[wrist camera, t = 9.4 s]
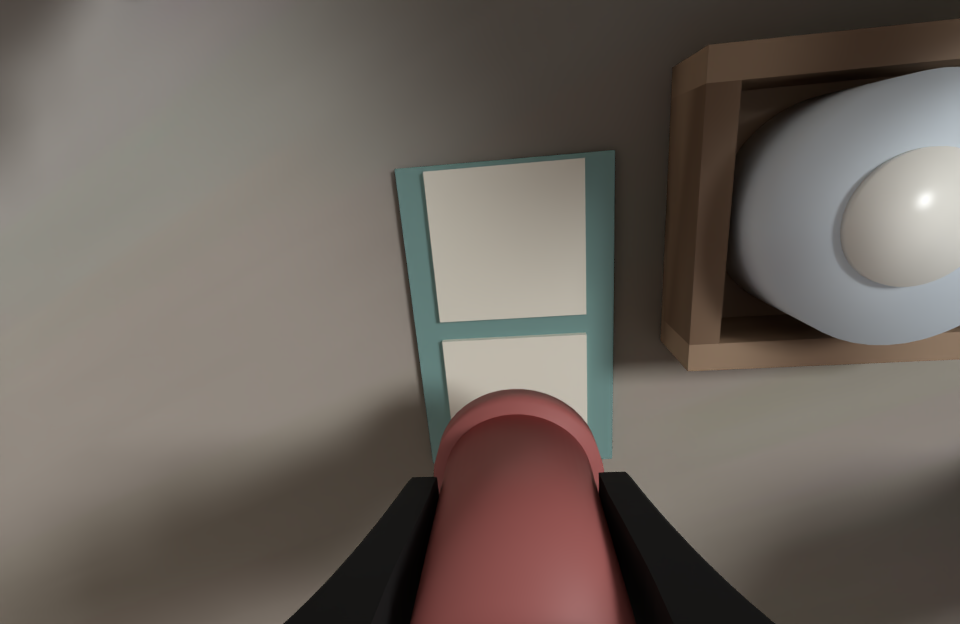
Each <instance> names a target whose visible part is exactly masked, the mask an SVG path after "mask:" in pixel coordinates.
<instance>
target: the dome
mask: <svg viewBox="0 0 960 624" xmlns="http://www.w3.org/2000/svg"><path fill="white" fill-rule="evenodd" d="M726 271H727V272H728V274H729V275H730V277H731V278H732V279H733V280H734V281H735V282H736V283H737V284H738V285H739V286H740V287H741V288H742V289H744V290H745V291H746V292H747V293H749V294H751V295H752V296H754V297H756V298H758V299H759V300H761V301H763V302H765V303H767V304H769V305H771V306H773V307H775V308H777V309H779V310H781V311H782V312H784V313H786V314H788V315H790V316H792V317H794V318H796V319H798V320H800V321H802V322H804V323H806V324H807V325H809V326H811V327H813V328H815V329H817V330H819V331H821V332H823V333H825V334H828V335H830V336H832V337H835V338H837V339H841V340H844V341H848V342H852V343H859V344H866V345H893V344H903V343H909V342H913V341H918V340H923V339H926V338H929V337H932V336H935V335H938V334H941V333H944V332H946V331H948V330H951V329H953V328H955V327H958V326H960V67H943V68H937V69H930V70H924V71H920V72H916V73H912V74H907V75H903V76H899V77H895V78H891V79H887V80H882V81H878V82H874V83H870V84H866V85H862V86H857V87H853V88H849V89H845V90H841V91H837V92H832V93H828V94H824V95H821V96H817V97H814V98H810V99H807V100H805V101H802V102H800V103H798V104H795V105H793V106H791V107H789V108H788V109H786V110H784V111H782V112H781V113H779V114H777V115H776V116H774V117H773V118H772V119H770V120H769V121H768V122H766V123H765V124H764V125H763V126H761V127H760V128H759V129H758V130H757V131H756V132H755V133H754V134H753V135H752V136H751V137H750V138H749V139H748V140H747V141H746V142H745V143H744V145H743V146H742V147H741V148H740V150H739V151H738V152H737V154H736V157H735V168H734V180H733V191H732V203H731V214H730V226H729V237H728V249H727V260H726Z"/></svg>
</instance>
